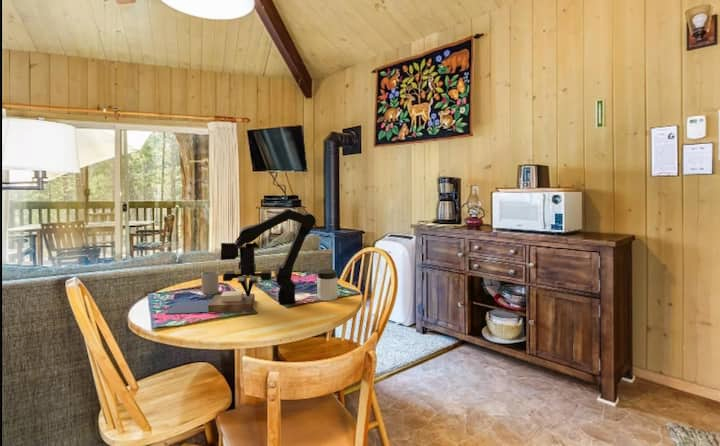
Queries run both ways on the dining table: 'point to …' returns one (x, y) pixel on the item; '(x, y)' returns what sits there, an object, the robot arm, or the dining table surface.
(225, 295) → the beige flat block
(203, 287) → the cup
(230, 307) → the cutting board
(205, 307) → the felt mat
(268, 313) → the dining table surface
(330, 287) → the jar
